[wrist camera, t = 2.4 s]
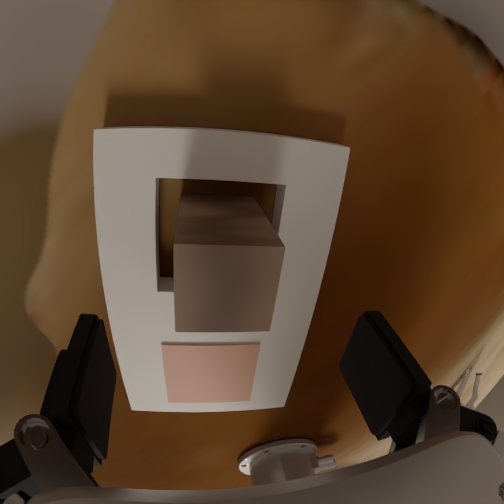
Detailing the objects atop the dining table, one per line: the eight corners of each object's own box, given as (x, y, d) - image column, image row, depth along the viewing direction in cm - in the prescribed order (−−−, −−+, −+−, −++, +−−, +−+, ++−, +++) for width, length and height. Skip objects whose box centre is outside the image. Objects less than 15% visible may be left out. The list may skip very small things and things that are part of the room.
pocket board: (337, 143, 20) (351, 148, 18) (279, 392, 31) (284, 407, 29) (103, 127, 17) (92, 129, 15) (133, 395, 28) (131, 411, 26)
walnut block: (254, 196, 21) (285, 247, 14) (246, 261, 23) (269, 331, 16) (181, 193, 20) (173, 243, 13) (179, 259, 22) (175, 332, 15)
